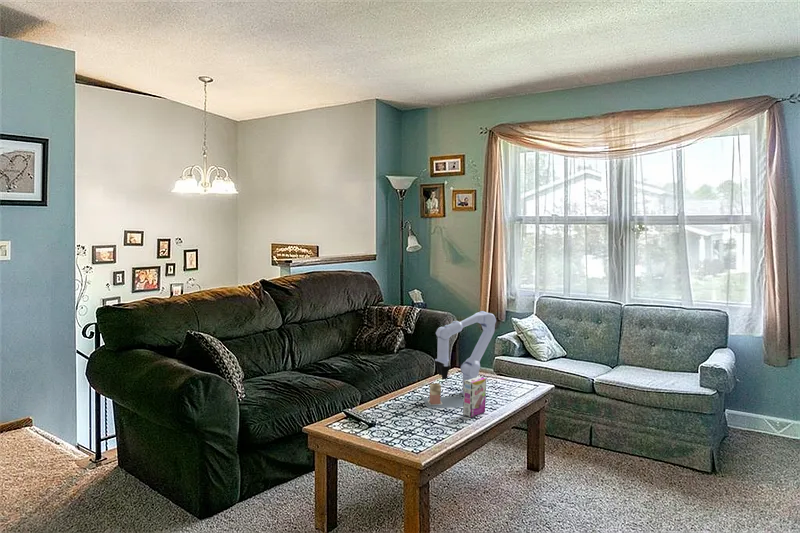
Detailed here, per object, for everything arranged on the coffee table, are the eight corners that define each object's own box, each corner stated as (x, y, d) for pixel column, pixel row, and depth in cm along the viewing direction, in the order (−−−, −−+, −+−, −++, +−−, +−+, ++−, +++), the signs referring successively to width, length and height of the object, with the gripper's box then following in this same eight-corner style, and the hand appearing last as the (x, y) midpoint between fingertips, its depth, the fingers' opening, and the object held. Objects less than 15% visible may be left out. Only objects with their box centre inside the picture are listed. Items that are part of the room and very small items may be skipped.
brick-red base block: (438, 400, 276) (438, 392, 275) (440, 403, 271) (440, 394, 271) (429, 401, 275) (429, 392, 274) (431, 404, 270) (431, 395, 270)
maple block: (438, 392, 275) (438, 383, 275) (440, 394, 271) (440, 385, 270) (429, 392, 275) (430, 383, 274) (431, 395, 270) (431, 386, 270)
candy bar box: (471, 418, 252) (471, 382, 251) (462, 415, 255) (463, 380, 254) (486, 412, 260) (486, 378, 258) (477, 409, 263) (478, 376, 262)
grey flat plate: (460, 396, 283) (460, 396, 283) (468, 406, 267) (468, 406, 267) (421, 398, 280) (421, 397, 280) (428, 408, 264) (428, 408, 264)
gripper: (432, 347, 287) (432, 373, 288) (438, 354, 273) (438, 381, 274) (445, 347, 289) (445, 372, 290) (452, 353, 274) (451, 380, 275)
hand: (442, 376), depth 282 cm, fingers open, 7 cm apart
